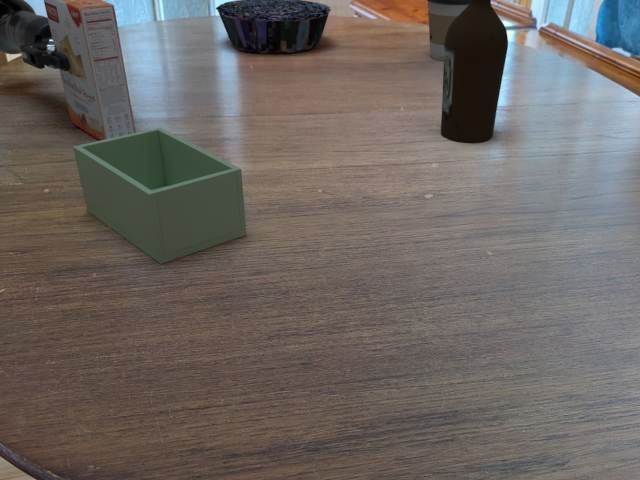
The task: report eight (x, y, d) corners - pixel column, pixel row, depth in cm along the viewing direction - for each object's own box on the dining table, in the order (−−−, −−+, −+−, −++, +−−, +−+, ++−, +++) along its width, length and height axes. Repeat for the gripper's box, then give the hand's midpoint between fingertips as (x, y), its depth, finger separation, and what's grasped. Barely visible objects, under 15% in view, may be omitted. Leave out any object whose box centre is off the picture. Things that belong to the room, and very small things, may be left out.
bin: (160, 264, 88) (149, 194, 83) (87, 211, 99) (72, 146, 94) (246, 235, 95) (241, 168, 90) (169, 188, 106) (160, 127, 101)
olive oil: (492, 125, 135) (511, -27, 120) (499, 145, 126) (521, -16, 111) (435, 123, 135) (447, -29, 120) (439, 143, 126) (452, -18, 111)
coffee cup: (421, 50, 179) (426, -18, 170) (467, 52, 179) (474, -16, 170) (422, 62, 170) (426, -9, 161) (470, 64, 170) (477, -7, 161)
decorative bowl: (222, 40, 187) (215, -3, 181) (327, 31, 191) (324, -11, 185) (222, 65, 167) (215, 19, 161) (340, 55, 171) (337, 9, 165)
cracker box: (69, 124, 127) (39, -10, 114) (102, 118, 130) (77, -13, 117) (104, 147, 118) (76, 6, 106) (138, 140, 122) (115, 2, 109)
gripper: (88, 57, 133) (133, 78, 124) (9, 69, 125) (50, 92, 116) (80, 12, 129) (125, 30, 119) (-3, 22, 120) (38, 41, 111)
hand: (88, 60), depth 117 cm, fingers open, 7 cm apart
